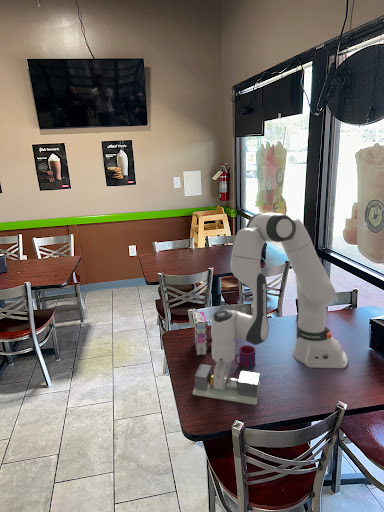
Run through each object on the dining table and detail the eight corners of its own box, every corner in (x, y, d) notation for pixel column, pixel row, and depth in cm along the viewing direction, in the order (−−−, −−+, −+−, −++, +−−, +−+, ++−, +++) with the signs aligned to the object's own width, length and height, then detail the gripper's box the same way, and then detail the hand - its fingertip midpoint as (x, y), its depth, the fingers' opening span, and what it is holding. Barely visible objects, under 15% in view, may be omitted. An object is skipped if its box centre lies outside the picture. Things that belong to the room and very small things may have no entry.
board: (259, 384, 140) (259, 382, 140) (256, 404, 129) (256, 402, 129) (200, 375, 147) (200, 373, 146) (192, 394, 136) (192, 392, 135)
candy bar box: (207, 355, 161) (206, 322, 156) (196, 355, 161) (195, 323, 156) (205, 342, 172) (204, 311, 167) (194, 342, 171) (193, 311, 167)
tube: (249, 387, 137) (249, 378, 136) (248, 393, 133) (248, 384, 132) (211, 381, 141) (211, 372, 140) (209, 387, 137) (209, 379, 136)
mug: (258, 365, 152) (258, 351, 150) (238, 371, 148) (238, 357, 146) (249, 357, 158) (249, 343, 156) (230, 363, 154) (229, 349, 152)
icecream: (230, 326, 172) (202, 335, 168) (237, 329, 165) (208, 339, 161) (233, 340, 173) (205, 349, 168) (240, 343, 166) (211, 354, 161)
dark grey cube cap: (259, 386, 137) (259, 373, 135) (257, 397, 131) (257, 384, 129) (241, 383, 139) (241, 370, 137) (238, 394, 133) (238, 381, 131)
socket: (211, 378, 143) (211, 365, 141) (206, 391, 136) (206, 377, 134) (200, 376, 144) (200, 364, 142) (195, 389, 137) (194, 375, 135)
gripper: (226, 369, 123) (227, 403, 127) (236, 339, 142) (236, 369, 146) (208, 367, 125) (209, 400, 129) (220, 337, 143) (221, 367, 147)
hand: (223, 383), depth 137 cm, fingers closed on tube, 4 cm apart
